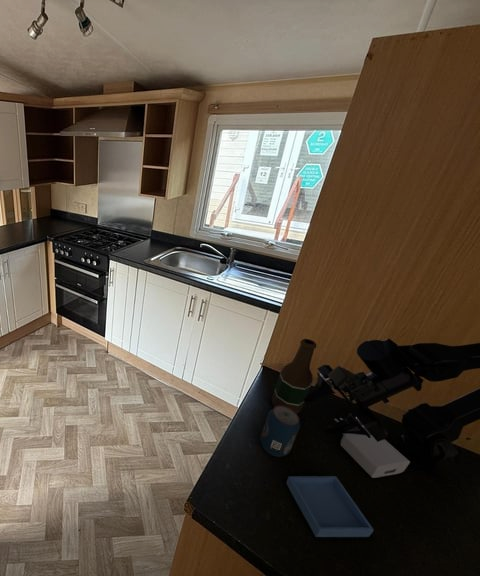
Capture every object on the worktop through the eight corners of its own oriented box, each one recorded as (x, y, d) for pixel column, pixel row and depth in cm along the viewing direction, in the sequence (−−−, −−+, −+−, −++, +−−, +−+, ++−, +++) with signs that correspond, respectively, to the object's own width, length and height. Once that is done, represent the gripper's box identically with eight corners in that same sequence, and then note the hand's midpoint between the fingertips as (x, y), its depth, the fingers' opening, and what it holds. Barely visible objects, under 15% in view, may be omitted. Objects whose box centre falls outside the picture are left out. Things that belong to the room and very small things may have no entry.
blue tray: (332, 483, 73) (336, 476, 72) (369, 537, 64) (374, 530, 62) (285, 483, 73) (288, 476, 72) (315, 537, 64) (319, 530, 62)
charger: (348, 422, 89) (403, 473, 76) (320, 426, 88) (370, 479, 74) (354, 410, 87) (411, 460, 74) (326, 414, 86) (378, 466, 72)
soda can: (261, 431, 86) (272, 399, 81) (290, 444, 83) (303, 411, 77) (256, 449, 81) (268, 417, 76) (286, 464, 78) (301, 431, 72)
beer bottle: (265, 397, 97) (286, 334, 87) (288, 395, 98) (312, 332, 87) (281, 418, 90) (306, 351, 80) (306, 415, 91) (334, 349, 80)
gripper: (337, 337, 76) (279, 369, 82) (396, 394, 60) (317, 429, 65) (359, 365, 79) (301, 394, 85) (421, 426, 63) (343, 457, 68)
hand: (313, 415), depth 76 cm, fingers open, 9 cm apart
